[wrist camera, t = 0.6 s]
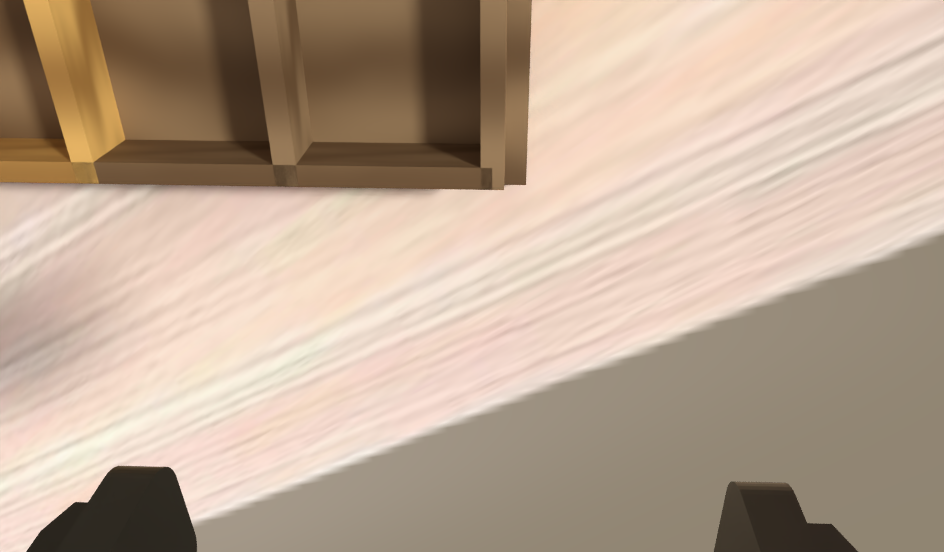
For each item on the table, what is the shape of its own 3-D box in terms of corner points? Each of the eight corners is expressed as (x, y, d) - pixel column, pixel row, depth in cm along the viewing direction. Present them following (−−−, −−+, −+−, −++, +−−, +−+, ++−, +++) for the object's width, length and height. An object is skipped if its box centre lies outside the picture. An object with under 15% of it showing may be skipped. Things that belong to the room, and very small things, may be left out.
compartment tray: (-173, -98, 31) (-259, -92, 28) (534, -102, 29) (536, -96, 26) (-67, 168, 37) (-128, 200, 34) (525, 176, 35) (526, 211, 32)
